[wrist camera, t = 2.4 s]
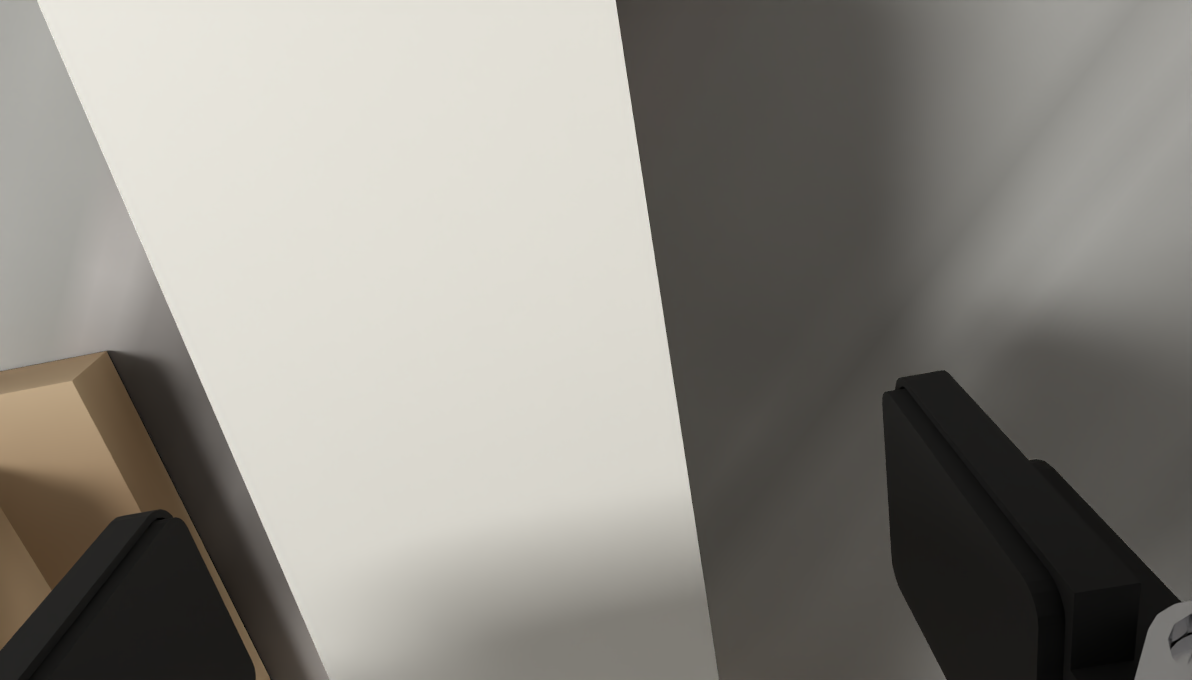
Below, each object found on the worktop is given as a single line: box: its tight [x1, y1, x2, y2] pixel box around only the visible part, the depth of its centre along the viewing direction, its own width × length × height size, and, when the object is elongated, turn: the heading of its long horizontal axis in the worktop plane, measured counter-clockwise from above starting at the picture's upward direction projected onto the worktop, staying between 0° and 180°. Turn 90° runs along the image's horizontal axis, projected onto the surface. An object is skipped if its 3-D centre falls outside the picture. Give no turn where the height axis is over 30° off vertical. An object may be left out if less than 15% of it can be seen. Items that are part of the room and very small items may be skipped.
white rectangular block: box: [37, 0, 719, 680], centre depth 11 cm, size 14×4×6 cm, turn 10°
